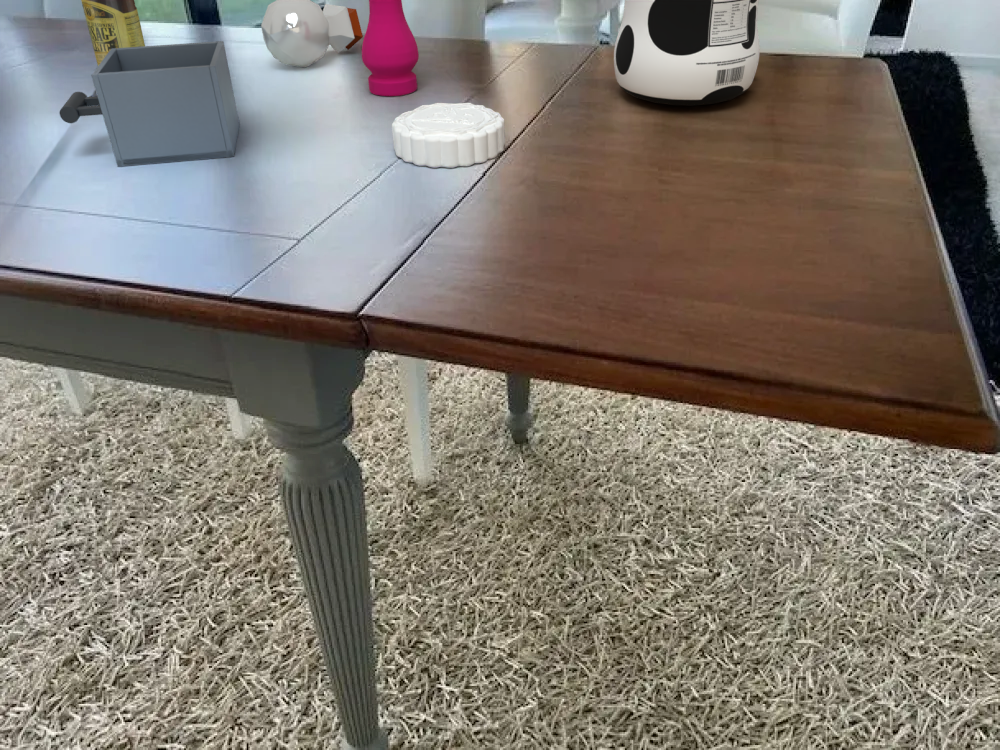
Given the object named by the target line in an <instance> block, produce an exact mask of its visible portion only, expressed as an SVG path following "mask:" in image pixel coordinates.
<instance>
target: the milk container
mask: <svg viewBox="0 0 1000 750" xmlns="http://www.w3.org/2000/svg"><path fill="white" fill-rule="evenodd" d="M759 1H760V0H624V2H623V3H624V4H623V14H622V18H621V22H620V27H619V30H618V34H617V37H616V40H615V44H614V48H613V67H614V69H613V70H614V74H615V80H616V82H617V84H618V86H619V87H620V89H621V90H623V91H624V92H625V93H627V94H628V95H631V96H633V98H636V99H638V100H639V99H640V100H644V101H648V102H650V103H655V104H660V105H662V104H663V105H669V106H688V107H690V106H691V107H693V106H701V105H714V104H719V103H722V102H727V101H731V100H733V99H735V98H737V97H739V96H741V95H742V94H744V93H746V92H747V91H748V89H749V88H750V87H751V86H752V84H753V82H754V78H755V76H756V73H757V69H758V66H759V61H760V52H761V51H760V50H761V48H760V47H761V45H760V37H759V29H758V9H759Z"/></svg>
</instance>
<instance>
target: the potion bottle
mask: <svg viewBox="0 0 1000 750" xmlns="http://www.w3.org/2000/svg"><path fill="white" fill-rule="evenodd" d="M260 27H261V32H262V38H263V42H264V44H265V46H266V49H267V51H269V53H270V54H271V56H272V57H273V58H274V59H276V60H277V61H279V62H280V63H282V64H283V65H285V66H291V67H298V68H299V67H300V68H308V67H310V66H311V65H313V64H314V63H316V62H317V61H319V60H321V59H322V58H324V56H325V54H326V52H327V50H328V48H329V46H331V48H333V50H334V51H335V52H336V53H337V54H340V53H341V52H342V51H343V50H344V49H346V50H347V51H349V50H350V49H352V48H353V47H354V46H355V45H356V44H357V43H358V42H360V40H361V39H363V38H364V36H363V31H362V27H361V24H360V19H359V15H358V11H357V8H350V7H347V6H342V5H336V4H335V5H334V4H328V3H324V6H323V9H322V8H321V6H320V5H319V4H318V3H317V2H315V1H312V0H275V1H273V2H271V3H269V4H268V5H267V8H266V10H265V13H264V16H263V19H262V22H261V24H260Z"/></svg>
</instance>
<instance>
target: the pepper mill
mask: <svg viewBox="0 0 1000 750" xmlns="http://www.w3.org/2000/svg"><path fill="white" fill-rule="evenodd" d="M368 6H369V8H368V10H369V13H368V15H369V16H368V22H367V27H366V30H365V34H364V36H363V40H362V46H361V60H362V63H363V65H364V66H365V67H366V68H367V69H368V71H370V73H371V74H370V75H369V76H368V77H367V82H368V90H369V92H370V93H371V94H372V95H375V96H379V97H400V96H401V97H402V96H406V95H410V94H413V93H414V92H415V91H417V89H418V78H417V74H416V73H415V72H414V71H413V70H414V67H416V65H417V63H418V62H419V59H420V57H419V55H420V53H419V48H418V44H417V41H416V38H415V36H414V34H413V32H412V30H411V28H410V26H409V23H408V20H407V19H406V15H405V13H404V7H403V2H402V0H368Z"/></svg>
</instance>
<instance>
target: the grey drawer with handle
mask: <svg viewBox="0 0 1000 750" xmlns="http://www.w3.org/2000/svg"><path fill="white" fill-rule="evenodd" d="M91 79H92V82H93V86H94V89H95V93H96V95H95V96H88V95H87V94H86V93H85V92H82V91H75V92H73V93H72V94H70V97H68V99H67V100H66V102H65V103H64V104H63V106H62V107H61V108H60V110H59V117H60V118H61V120H62V121H63V122H65V123H67V124H75V123H77V122H78V120H79V119H80V117H86V116H87V117H88V116H101V115H102V117H103V121H104V124H105V127H106V131H107V134H108V138H109V142H110V145H111V149H112V152H113V155H114V159H115V163H116V166H117V167H118V168H120V167H130V166H142V165H152V164H162V163H163V164H164V163H175V162H186V161H198V160H209V159H211V160H212V159H220V158H221V159H222V158H223V159H224V158H234V157H235V152H236V146H237V142H238V136H239V131H240V126H241V123H240V119H239V118H240V117H239V112H238V109H237V102H236V98H235V92H234V88H233V83H232V78H231V73H230V68H229V64H228V58H227V53H226V47H225V42H224V40H218V41H201V42H191V43H190V42H189V43H174V44H173V43H171V44H159V45H158V44H157V45H145V46H142V47H127V48H112V49H111V50H110V51H109V52H108V54H107V55H106V56H105V58H104V59H103V60H102V62H101V63H100V64H99V66H98V65H97V67H96V68H95V70H93V72H92V74H91Z"/></svg>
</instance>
